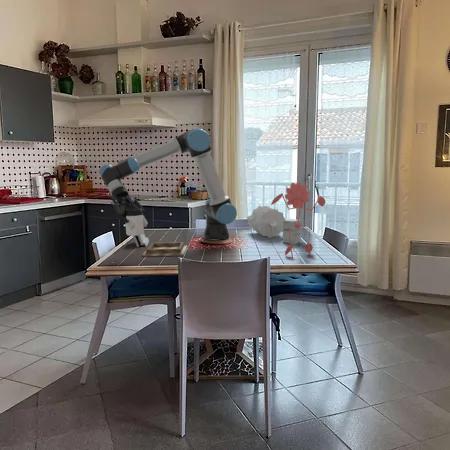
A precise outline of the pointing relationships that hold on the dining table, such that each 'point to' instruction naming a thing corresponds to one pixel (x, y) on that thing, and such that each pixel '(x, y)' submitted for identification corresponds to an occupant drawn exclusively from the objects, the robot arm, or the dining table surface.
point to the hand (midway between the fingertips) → (139, 226)
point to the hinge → (141, 240)
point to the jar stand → (166, 249)
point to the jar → (134, 221)
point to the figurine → (297, 198)
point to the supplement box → (294, 234)
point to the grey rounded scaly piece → (266, 221)
